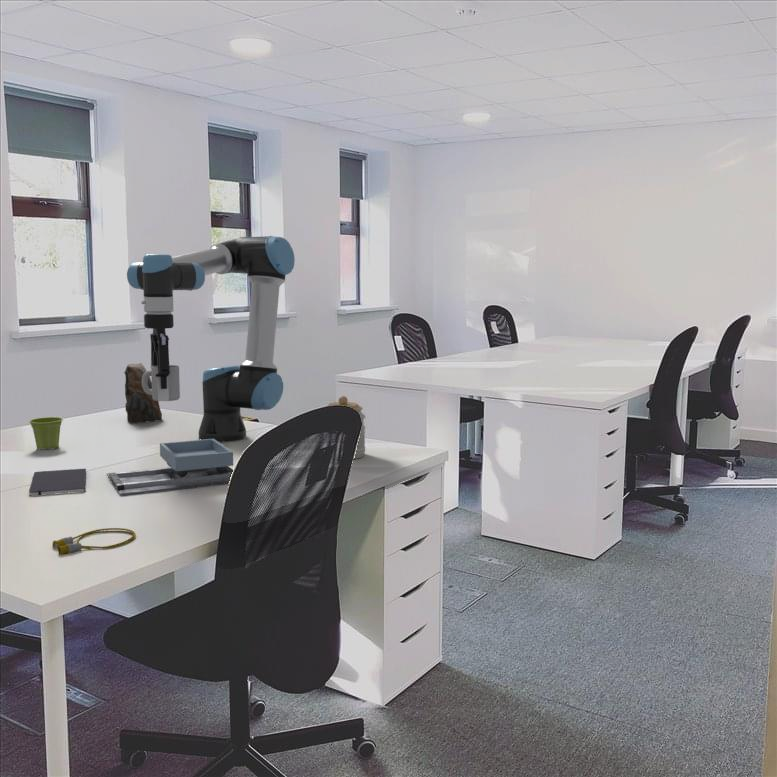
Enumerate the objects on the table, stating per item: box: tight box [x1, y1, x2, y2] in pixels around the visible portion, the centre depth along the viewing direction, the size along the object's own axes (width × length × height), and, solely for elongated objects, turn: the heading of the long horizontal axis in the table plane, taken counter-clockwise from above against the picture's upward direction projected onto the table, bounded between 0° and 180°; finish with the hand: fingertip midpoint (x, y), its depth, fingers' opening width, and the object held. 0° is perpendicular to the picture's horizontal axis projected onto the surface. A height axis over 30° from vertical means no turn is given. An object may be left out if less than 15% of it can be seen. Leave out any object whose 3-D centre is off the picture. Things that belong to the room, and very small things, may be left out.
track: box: [106, 466, 234, 497], centre depth 216 cm, size 30×22×2 cm
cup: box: [142, 364, 181, 402], centre depth 224 cm, size 7×10×9 cm
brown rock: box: [123, 362, 163, 424], centre depth 300 cm, size 13×13×20 cm
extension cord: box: [52, 527, 136, 555], centre depth 167 cm, size 12×16×2 cm
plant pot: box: [28, 416, 64, 451], centre depth 252 cm, size 9×9×9 cm
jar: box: [326, 395, 366, 460], centre depth 244 cm, size 13×13×18 cm
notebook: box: [28, 468, 87, 496], centre depth 211 cm, size 13×2×21 cm
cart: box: [159, 439, 234, 477], centre depth 219 cm, size 15×19×6 cm
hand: (160, 398), depth 224 cm, fingers closed on cup, 7 cm apart
